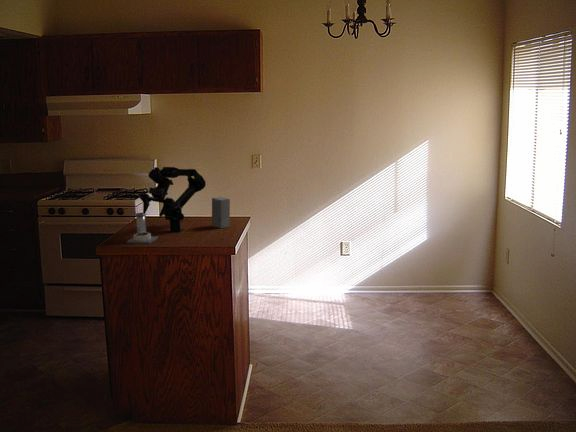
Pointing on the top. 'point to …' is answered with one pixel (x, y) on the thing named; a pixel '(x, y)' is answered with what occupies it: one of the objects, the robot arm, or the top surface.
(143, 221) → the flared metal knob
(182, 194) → the robot arm
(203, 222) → the top surface
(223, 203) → the skincare box
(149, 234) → the dock
